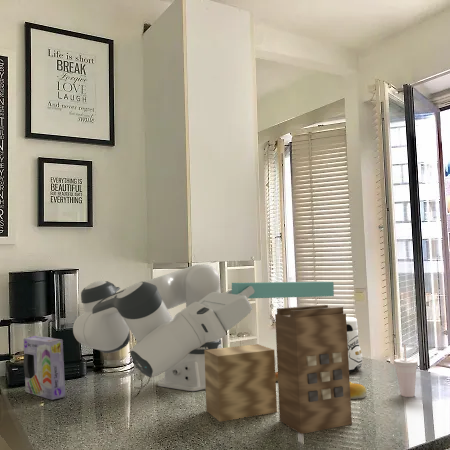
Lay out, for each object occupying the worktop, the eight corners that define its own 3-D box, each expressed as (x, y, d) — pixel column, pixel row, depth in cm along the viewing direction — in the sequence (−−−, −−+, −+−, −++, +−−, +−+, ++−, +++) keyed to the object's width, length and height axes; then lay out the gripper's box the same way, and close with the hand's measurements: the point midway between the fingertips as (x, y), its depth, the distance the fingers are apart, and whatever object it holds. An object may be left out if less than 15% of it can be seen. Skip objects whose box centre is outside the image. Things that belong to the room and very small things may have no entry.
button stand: (302, 434, 107) (296, 311, 109) (279, 420, 116) (274, 308, 119) (353, 424, 112) (347, 307, 114) (327, 412, 122) (322, 304, 124)
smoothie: (420, 393, 136) (417, 343, 137) (419, 399, 130) (415, 347, 131) (396, 391, 139) (393, 342, 140) (394, 397, 133) (391, 346, 134)
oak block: (220, 421, 117) (217, 356, 119) (206, 410, 126) (204, 349, 128) (277, 412, 123) (274, 349, 125) (260, 402, 133) (257, 344, 134)
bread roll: (356, 402, 130) (356, 387, 131) (330, 395, 137) (329, 381, 137) (373, 395, 136) (372, 381, 136) (346, 390, 143) (345, 376, 143)
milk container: (369, 375, 159) (366, 321, 160) (317, 376, 159) (315, 322, 160) (355, 364, 176) (353, 315, 177) (309, 365, 176) (306, 316, 178)
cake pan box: (22, 391, 153) (22, 336, 155) (37, 388, 157) (36, 334, 158) (50, 402, 140) (50, 341, 142) (66, 398, 144) (65, 339, 145)
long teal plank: (237, 298, 107) (237, 283, 108) (231, 297, 111) (231, 282, 111) (333, 296, 117) (333, 282, 117) (325, 295, 120) (325, 281, 121)
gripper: (192, 328, 115) (236, 297, 120) (223, 340, 96) (274, 302, 102) (179, 306, 115) (224, 276, 120) (208, 314, 96) (260, 277, 101)
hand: (247, 288), depth 110 cm, fingers closed on long teal plank, 3 cm apart
